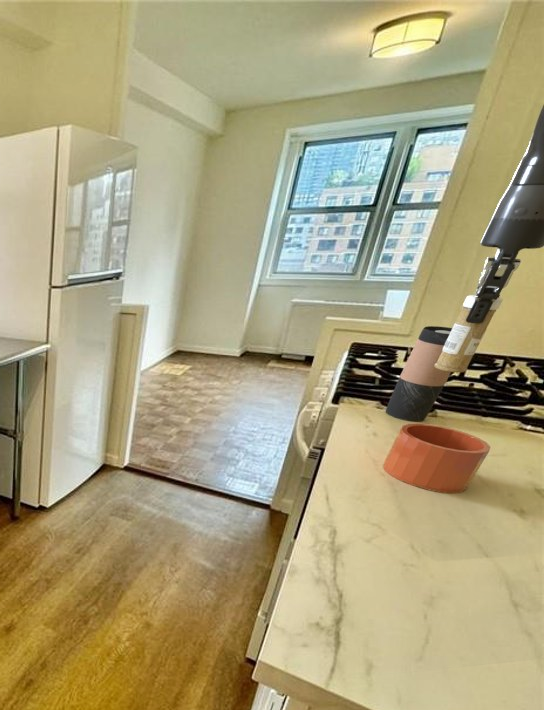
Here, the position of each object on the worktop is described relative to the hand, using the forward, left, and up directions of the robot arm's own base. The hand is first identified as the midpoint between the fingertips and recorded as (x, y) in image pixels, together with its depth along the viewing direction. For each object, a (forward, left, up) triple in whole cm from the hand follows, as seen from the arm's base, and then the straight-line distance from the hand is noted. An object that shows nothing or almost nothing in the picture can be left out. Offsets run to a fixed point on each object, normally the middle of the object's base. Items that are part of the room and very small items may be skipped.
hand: (473, 319), depth 87 cm
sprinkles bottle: (0, 0, -10) cm, 10 cm away
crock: (+9, +11, -26) cm, 29 cm away
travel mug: (-13, -14, -26) cm, 32 cm away
